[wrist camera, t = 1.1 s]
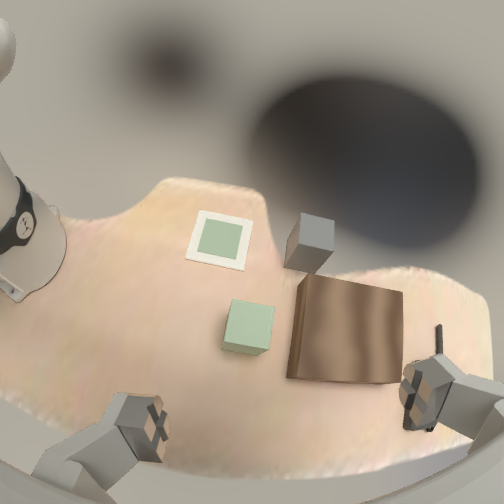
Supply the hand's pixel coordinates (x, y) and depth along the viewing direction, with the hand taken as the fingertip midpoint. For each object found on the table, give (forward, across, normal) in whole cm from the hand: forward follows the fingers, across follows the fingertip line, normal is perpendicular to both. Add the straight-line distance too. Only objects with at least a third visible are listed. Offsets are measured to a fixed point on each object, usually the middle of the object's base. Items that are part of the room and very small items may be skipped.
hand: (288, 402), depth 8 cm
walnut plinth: (+28, -12, +16) cm, 35 cm away
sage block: (+28, +3, +13) cm, 31 cm away
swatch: (+37, +5, +1) cm, 37 cm away
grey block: (+36, -8, +5) cm, 37 cm away
